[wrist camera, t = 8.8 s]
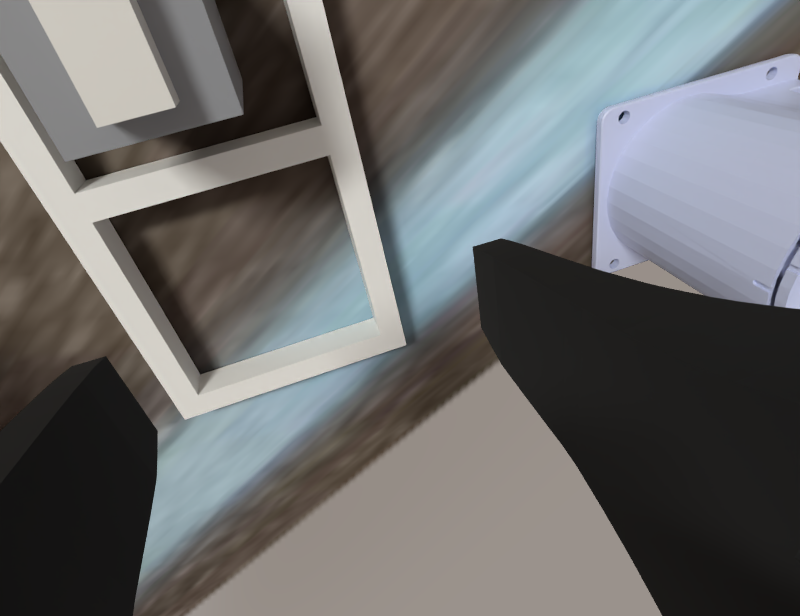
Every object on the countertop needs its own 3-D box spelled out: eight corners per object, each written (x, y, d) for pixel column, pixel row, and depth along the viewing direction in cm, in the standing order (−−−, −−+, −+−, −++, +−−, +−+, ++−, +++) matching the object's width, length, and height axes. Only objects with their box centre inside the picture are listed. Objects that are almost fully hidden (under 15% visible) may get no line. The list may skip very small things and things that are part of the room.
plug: (189, -72, 14) (155, -119, 8) (242, 79, 16) (243, 121, 11) (44, -40, 13) (-95, -67, 8) (119, 110, 16) (54, 172, 10)
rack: (250, -260, 12) (251, -287, 11) (398, 327, 23) (406, 344, 22) (-180, -183, 11) (-229, -204, 10) (187, 397, 22) (184, 419, 21)
